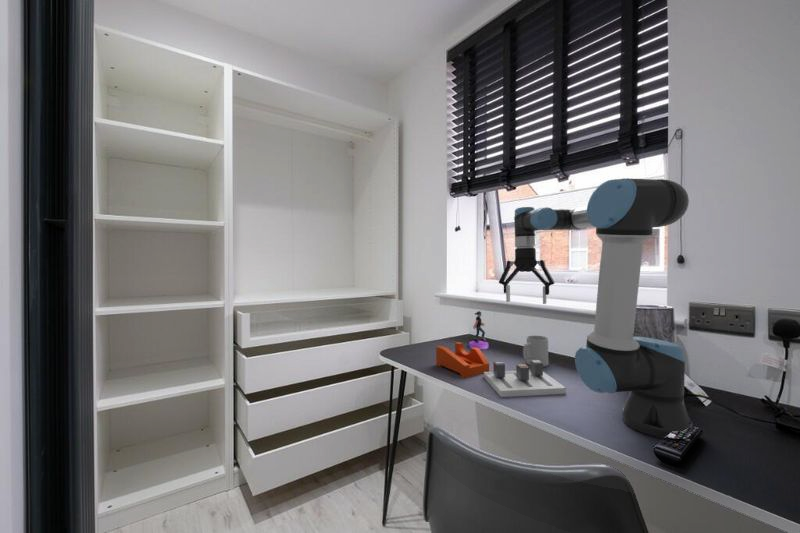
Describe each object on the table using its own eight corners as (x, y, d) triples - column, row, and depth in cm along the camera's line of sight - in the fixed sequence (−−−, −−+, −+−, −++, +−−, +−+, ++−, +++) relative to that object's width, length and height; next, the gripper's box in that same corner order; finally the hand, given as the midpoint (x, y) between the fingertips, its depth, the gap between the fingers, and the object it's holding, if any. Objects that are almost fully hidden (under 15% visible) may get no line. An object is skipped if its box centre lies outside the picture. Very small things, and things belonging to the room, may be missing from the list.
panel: (565, 393, 113) (565, 387, 113) (500, 396, 112) (500, 390, 111) (539, 374, 131) (539, 369, 131) (483, 377, 129) (483, 371, 129)
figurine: (489, 349, 166) (489, 312, 165) (470, 349, 167) (469, 312, 166) (486, 344, 175) (486, 309, 175) (468, 344, 176) (468, 309, 175)
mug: (536, 359, 150) (536, 334, 149) (552, 364, 142) (552, 338, 142) (516, 363, 144) (516, 338, 144) (532, 369, 137) (532, 342, 136)
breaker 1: (505, 377, 122) (504, 364, 122) (496, 377, 122) (496, 364, 122) (501, 373, 126) (501, 360, 126) (493, 374, 126) (493, 361, 126)
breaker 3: (542, 375, 123) (542, 362, 123) (534, 375, 123) (534, 362, 123) (538, 372, 127) (538, 359, 127) (530, 372, 127) (530, 359, 127)
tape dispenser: (436, 365, 145) (436, 346, 144) (459, 360, 151) (459, 342, 151) (464, 379, 129) (464, 357, 129) (489, 372, 136) (489, 351, 135)
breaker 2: (528, 380, 119) (528, 366, 119) (520, 380, 119) (520, 367, 119) (524, 376, 123) (524, 363, 122) (516, 377, 122) (516, 363, 122)
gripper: (562, 246, 128) (562, 303, 128) (496, 249, 142) (497, 299, 142) (558, 246, 122) (559, 305, 122) (490, 248, 135) (491, 302, 136)
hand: (525, 302), depth 132 cm, fingers open, 13 cm apart
